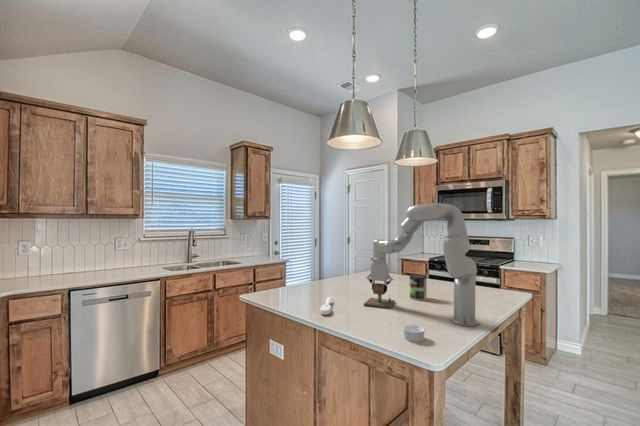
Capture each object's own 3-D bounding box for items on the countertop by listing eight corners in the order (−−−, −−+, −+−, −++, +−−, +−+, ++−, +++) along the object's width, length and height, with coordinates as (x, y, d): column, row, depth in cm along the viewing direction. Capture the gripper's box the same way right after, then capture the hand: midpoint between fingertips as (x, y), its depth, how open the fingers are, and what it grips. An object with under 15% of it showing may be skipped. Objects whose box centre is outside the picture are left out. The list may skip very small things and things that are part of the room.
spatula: (324, 301, 193) (324, 296, 193) (334, 301, 193) (334, 296, 193) (319, 315, 165) (319, 310, 165) (330, 316, 165) (330, 310, 165)
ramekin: (415, 344, 129) (415, 333, 129) (398, 337, 136) (398, 327, 136) (429, 339, 134) (429, 329, 134) (411, 333, 141) (411, 323, 141)
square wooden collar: (383, 294, 184) (383, 286, 184) (373, 293, 186) (373, 285, 186) (387, 290, 193) (387, 282, 193) (377, 289, 195) (377, 281, 195)
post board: (390, 309, 177) (390, 297, 178) (363, 306, 183) (363, 294, 183) (395, 302, 191) (395, 291, 191) (370, 299, 197) (370, 288, 197)
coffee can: (417, 301, 194) (417, 278, 194) (406, 297, 203) (406, 275, 203) (430, 299, 198) (430, 276, 198) (418, 295, 208) (418, 273, 208)
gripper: (363, 260, 188) (363, 291, 187) (393, 262, 181) (393, 294, 181) (367, 259, 194) (366, 288, 194) (395, 260, 188) (395, 291, 187)
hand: (379, 291), depth 187 cm, fingers closed on square wooden collar, 6 cm apart
